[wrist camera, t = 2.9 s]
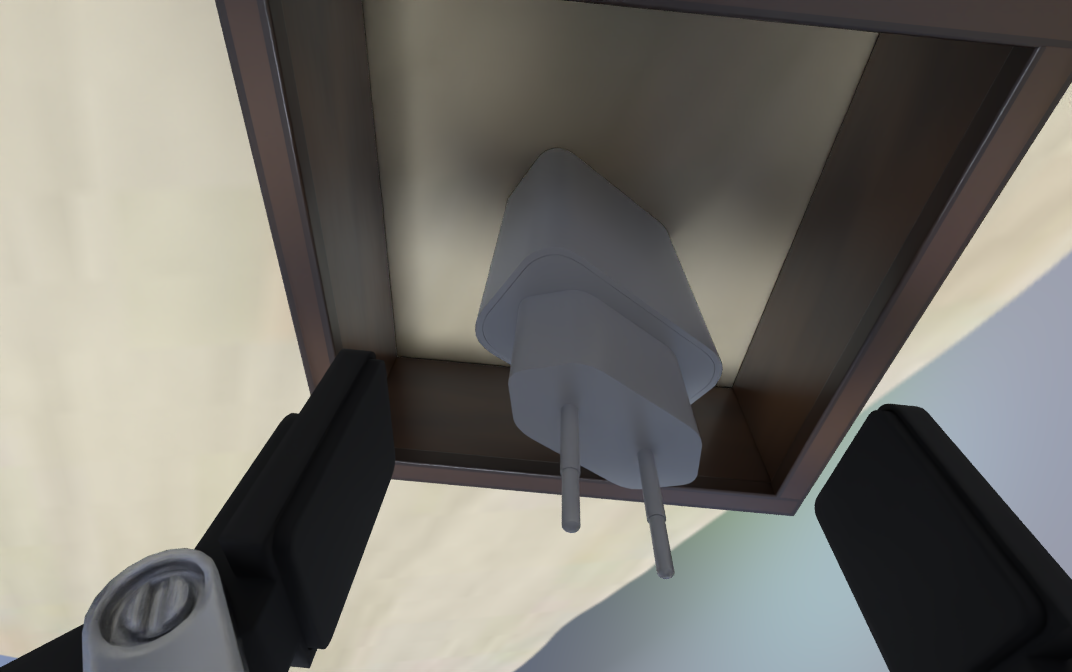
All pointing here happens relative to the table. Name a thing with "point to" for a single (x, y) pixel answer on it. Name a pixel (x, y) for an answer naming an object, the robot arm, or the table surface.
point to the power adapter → (598, 337)
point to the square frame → (801, 289)
